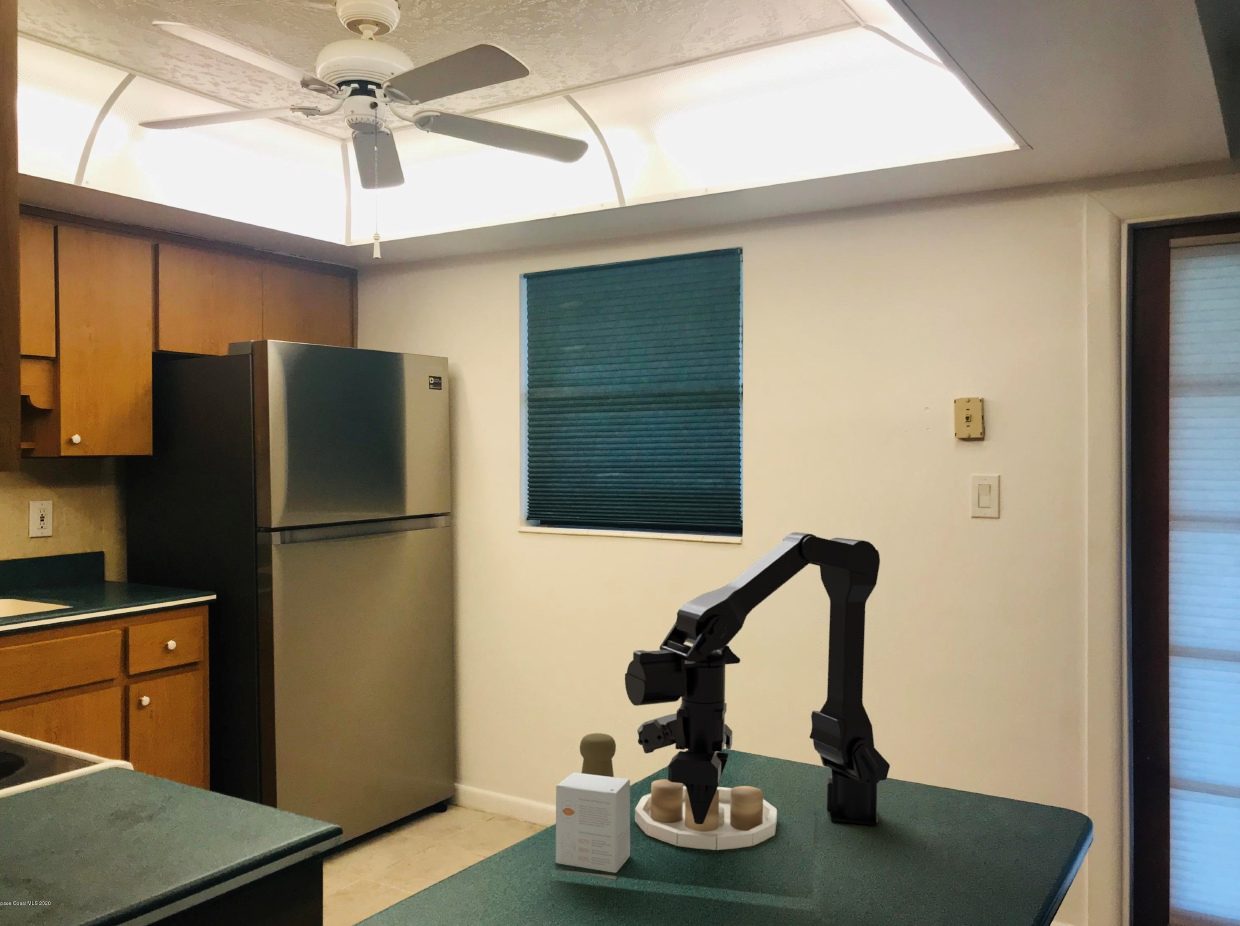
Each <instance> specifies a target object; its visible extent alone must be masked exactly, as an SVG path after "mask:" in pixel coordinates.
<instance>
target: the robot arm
mask: <svg viewBox="0 0 1240 926" xmlns="http://www.w3.org/2000/svg"><path fill="white" fill-rule="evenodd" d="M880 558H881V556H880V551H879V550H878V549H876V547H875V546H874V544H872V543H871V542H870V541H867V540H862V539H853V538H852V539H851V538H844V537H843V538H842V537H833V538H830V539H827V538H823V537H819V536H816V535H815V534H813V533H805V532H796V531H795V532H791V533H788V534H786V535H785V537H783V538H782V541H781V542H780V543H778V544H777V545H776V546H774V547H773V548H772V549H771V550H769V551H768V552H767V553H765V554H764V555H763V556H762V557H760V558H759V559H758V560H756V561H755V562H754V563H753V564H752V565H750V566H749V567H748V568H747V569H745V570H743V572H741V573H740V574H739V575H738V576H736V577H735V578H734V579H732V580H731V581H730V582H729V583H727V584H726V585H724V586H722V587H720V588H718V589H715V590H711V591H707V592H704V593H702V594H701V595H700V594H699V596H697V597H694V598H692V599H691V600H689V601H687V602H686V603H684V604H683V605H682V606H681V607H680V608H679V609H678V611H677V612H676V615H677V617H676V620H675V622H674V624H673V625H672V627H671V629H669V632H668V633H667V635H666V636H665V638H664V639H663V641H662V643H661V644H660V645H659V650H644V649H641V650H634V651H633V653H632V660H631V661H630V662H629V664H628V667H627V670H626V673H625V674H624V685H625V691H626V694H627V697H628V700H629V702H630V703H631V704H632V705H633V706H634V707H635V706H637V707H638V706H639V707H640V706H646V705H657V704H667V703H675V702H678V701H680V698H681V702H680V703H681V704H680V706H679V708H678V709H676V712H675V713H671V714H667V715H664V716H663V715H662V716H659V717H656V718H654V719H649V720H647V721H644V722H643V723H642V724H640V726H639V727H638V728H637V736H638V739H637V743H638V745H640V746H642V749H643V752H644V754H651V753H653V752H654V751H656V750H660V749H662V748H665V747H668V746H672V745H675V746H674V747H675V750H679V751H678V752H677V753H675V755H673V757H672V758H671V760H670V761H669V763H668V765H667V779H668V781H670V782H674V783H682V784H683V786H686V789H687V792H688V796H689V800H690V805H691V809H692V813H693V818H694V822H695V823H696V824H703V823H704V820H705V818H706V815H707V813H708V810H709V808H710V805H711V803H712V800H713V798H714V795H715V793H716V790H717V788H718V787H719V786H720V782H721V780H722V777H723V773H724V769H725V768H726V765H727V763H728V759H729V756H730V753H728V752H723V750H724V747H725V750H731V749H732V746H733V730H732V729H731V728H730V727H729V726H728V724H726V723H725V719H726V718H725V716H726V712H727V708H728V707H727V702H726V665H733V664H740V663H741V658H740V657H739V656H737V654H735V653H734V652H733V651H732V649H731V648H730V646H729V645H728V644H729V643H730V642H731V641H732V640H733V639H734V638H735V637H736V635H737V634H738V633H739V632H740V631H741V630H742V628H743V626H744V623H745V621H746V619H747V616H748V615H749V614H750V613H751V612H752V611H753V610H754V609H755V608H756V607H757V606H758V605H760V604H761V603H762V602H763V601H765V600H766V599H767V598H769V596H771V595H772V594H773V593H774V592H776V591H777V590H778V589H779V588H780V587H782V586H783V585H785V584H786V583H787V582H788V581H790V580H791V579H792V578H793V577H794V576H796V575H797V574H798V573H799V572H801V571H802V570H803V569H804V568H806V567H807V566H808V565H809V564H810V565H814V566H818V567H819V572H820V581H821V582H822V583H821V584H822V585H823V586H824V589H825V592H826V593H827V596H828V598H829V624H828V625H829V632H828V660H827V664H828V665H827V687H826V688H827V690H826V691H827V692H826V693H827V694H826V695H827V696H826V701H825V702H824V704H823V706H822V707H821V709H820V711H819V710H812V711H811V717H810V718H811V732H810V735H809V739H811V740H812V742H813V743H812V744H813V748H814V750H815V751H816V752H817V754H818V755H819V756H820V759H821V764H822V766H824V767H826V768H827V769H831V777H829V778H827V779H826V783H827V785H826V812H827V813H830V816H829V820H830V821H831V822H837V823H850V824H859V825H860V824H861V825H869V826H878V825H879V819H878V812H877V809H878V784H879V783H880V781H885V780H887V778H888V775H889V771H890V767H891V765H890V763H889V762H888V761H887V760H886V759H885V758H884V757H883V754H881V753H880V752H879V751H878V750H877V749H876V747H875V739H874V731H873V730H874V729H873V724H872V723H871V720H870V717H869V715H868V713H867V711H866V709H865V707H864V702H863V701H864V700H863V699H864V697H863V695H864V690H863V689H864V664H865V662H864V661H865V659H864V658H865V633H866V632H865V630H866V629H865V628H866V625H865V624H866V604H867V601H868V599H869V598H870V596H871V594H872V593H873V591H874V589H875V588H876V586H877V584H878V583H877V582H878V576H879V571H880V566H881V563H880V562H881V559H880ZM685 643H688V644H691V645H692V646H691V645H688V644H685ZM684 750H685V751H684Z"/></svg>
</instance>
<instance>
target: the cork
mask: <svg viewBox="0 0 1240 926" xmlns="http://www.w3.org/2000/svg"><path fill="white" fill-rule="evenodd" d="M616 746H617V744H616V741H615V739H614V738H613V736H612V735H609V734H606V733H601V732H599V733H597V732H596V733H595V732H594V733H588V734H586V735H584V736H583V737H582V739H581V740H580V744H579V752H580V755H581V757H582V758H583V760H582V766H581V773H582V774H591V775H599V776H608V777H615V776H614V767H613V758H614V757H615V754H616V751H617V749H616V748H617V747H616Z"/></svg>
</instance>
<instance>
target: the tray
mask: <svg viewBox="0 0 1240 926" xmlns="http://www.w3.org/2000/svg"><path fill="white" fill-rule="evenodd" d="M717 789H718V790H719V825H718V828H717V829H716V830H713V831H707V832H701V831H694V830H691V829H689V828H687V827H686V826H685V790H686V786H685V785H683V816H682V820H680V821H678V822H674V823H662V822H657V821H655V820H653V819H652V818H651V792H650V793H648V794H645V795H643V796H641V798H640V800H639V801H638V803H637V805H636V807H635V808H634V821H635V823H636V824H637V826H639V828H640V829H641V830H642V831H643V832H644V834H645V835H647V836H648V837H652V838H655V839H657V840H660V841H661V842H665V843H667V844H669V845H670V844H671V845H673V846H677V847H683V848H691V849H700V850H712V851H719V850H730V849H732V850H733V849H740V848H741V849H742V848H747V847H753V846H756V845H758V844H760V843H763V842H765V841H767V840H768V839H769V838H772V837H774V836H775V835H776V830H777V822H778V810H777V808H776V807H775V806H773V804H770V803H769V802H768V801H767V800H765V799H764V798H763V824H761V825H759V826H757V827H755V828H753V829H751V830H748V831H743V830H738V829H735V828H733V827H732V826H731V825H730V797H731V789H732V788H731V787H722V786H718V788H717Z"/></svg>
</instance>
